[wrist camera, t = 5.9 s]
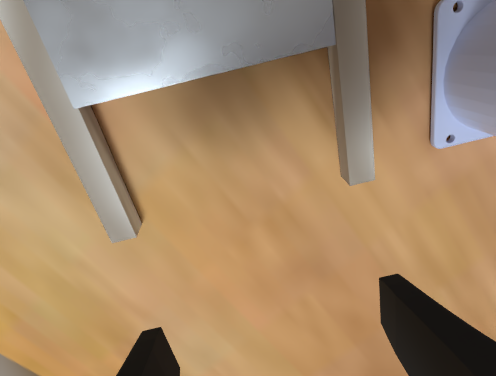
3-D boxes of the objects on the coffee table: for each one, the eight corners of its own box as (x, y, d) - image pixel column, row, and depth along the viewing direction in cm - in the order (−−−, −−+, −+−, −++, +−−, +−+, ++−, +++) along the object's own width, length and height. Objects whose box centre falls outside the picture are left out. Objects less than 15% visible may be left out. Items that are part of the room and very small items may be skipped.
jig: (344, -118, 14) (358, -135, 13) (364, 170, 20) (375, 179, 19) (-4, -29, 14) (-28, -37, 13) (119, 229, 20) (111, 243, 19)
